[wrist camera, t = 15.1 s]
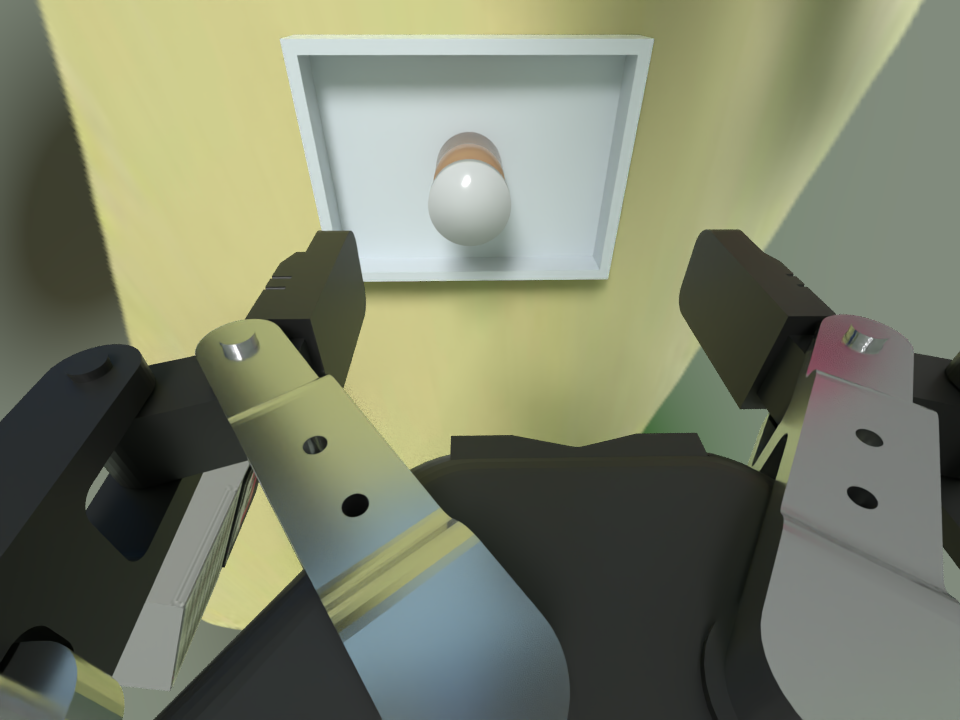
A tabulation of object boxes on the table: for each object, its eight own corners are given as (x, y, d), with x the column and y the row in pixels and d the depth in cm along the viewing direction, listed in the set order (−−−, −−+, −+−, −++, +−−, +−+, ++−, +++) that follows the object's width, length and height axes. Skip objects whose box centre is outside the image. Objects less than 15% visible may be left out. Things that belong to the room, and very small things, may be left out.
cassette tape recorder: (290, 426, 52) (183, 693, 32) (232, 410, 50) (81, 682, 30) (319, 332, 44) (201, 609, 24) (251, 309, 42) (66, 587, 23)
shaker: (432, 130, 33) (425, 164, 27) (504, 130, 33) (512, 163, 27) (436, 201, 36) (430, 246, 30) (501, 200, 36) (509, 245, 30)
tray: (294, 34, 30) (279, 38, 27) (639, 34, 30) (654, 38, 28) (341, 264, 40) (333, 282, 37) (599, 262, 40) (607, 279, 38)
